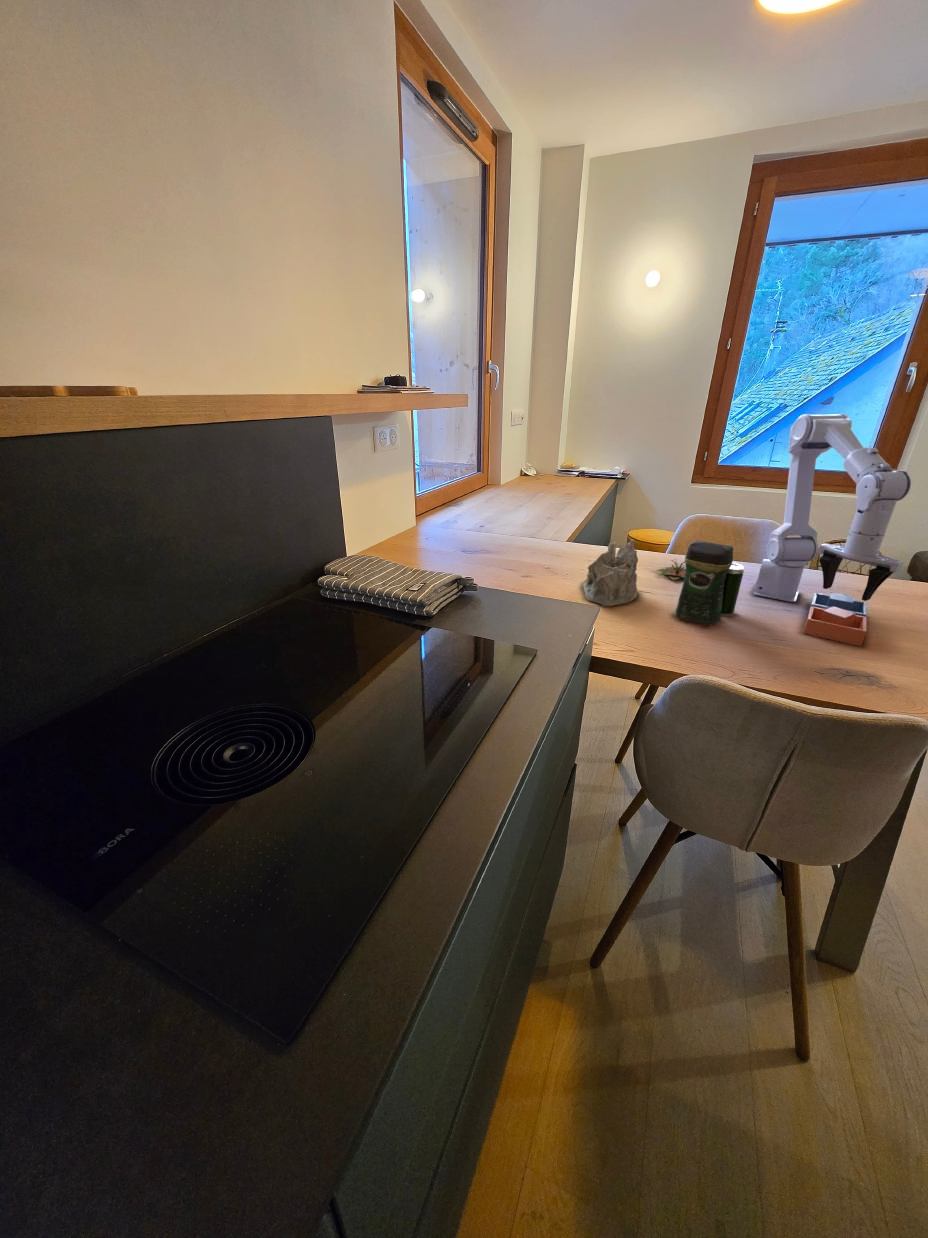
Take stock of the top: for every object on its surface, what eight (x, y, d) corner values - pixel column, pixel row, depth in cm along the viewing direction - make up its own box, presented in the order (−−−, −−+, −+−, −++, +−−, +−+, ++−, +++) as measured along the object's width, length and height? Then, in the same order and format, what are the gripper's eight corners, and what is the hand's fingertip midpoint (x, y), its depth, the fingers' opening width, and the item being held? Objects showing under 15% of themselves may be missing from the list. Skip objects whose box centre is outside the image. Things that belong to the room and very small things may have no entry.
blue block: (823, 615, 117) (829, 598, 115) (825, 609, 120) (830, 592, 118) (847, 620, 114) (853, 602, 112) (847, 613, 118) (853, 596, 116)
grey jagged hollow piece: (602, 577, 143) (607, 527, 136) (649, 596, 131) (657, 543, 123) (563, 592, 136) (565, 540, 128) (608, 614, 124) (614, 559, 116)
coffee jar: (723, 618, 118) (740, 543, 110) (712, 629, 112) (730, 551, 104) (682, 607, 123) (695, 535, 115) (670, 618, 118) (683, 543, 110)
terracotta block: (816, 628, 111) (822, 610, 109) (827, 624, 113) (834, 606, 111) (838, 636, 107) (845, 617, 105) (849, 631, 109) (856, 613, 107)
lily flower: (671, 584, 137) (673, 569, 135) (646, 570, 148) (649, 556, 146) (708, 580, 140) (711, 565, 138) (682, 566, 150) (684, 552, 148)
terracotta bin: (803, 633, 110) (807, 619, 108) (806, 619, 116) (811, 606, 115) (860, 646, 104) (866, 631, 103) (861, 631, 111) (866, 617, 109)
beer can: (725, 618, 117) (736, 571, 112) (704, 611, 121) (714, 564, 116) (737, 613, 120) (749, 566, 115) (717, 605, 124) (727, 560, 119)
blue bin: (807, 617, 117) (811, 604, 116) (810, 605, 123) (814, 592, 122) (861, 628, 112) (866, 614, 110) (862, 615, 118) (867, 602, 116)
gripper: (919, 537, 96) (894, 601, 102) (839, 521, 108) (820, 579, 114) (901, 543, 93) (877, 608, 99) (821, 526, 105) (803, 585, 111)
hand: (845, 593), depth 106 cm, fingers open, 7 cm apart
